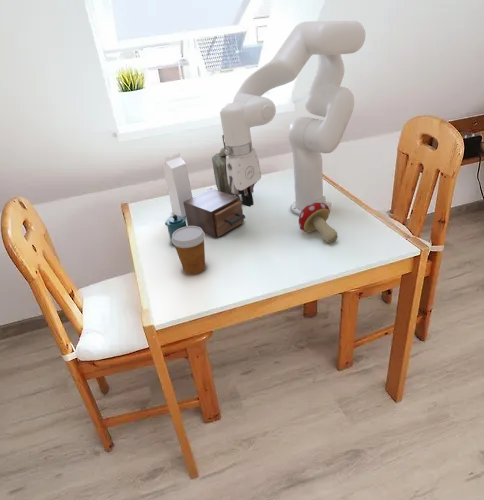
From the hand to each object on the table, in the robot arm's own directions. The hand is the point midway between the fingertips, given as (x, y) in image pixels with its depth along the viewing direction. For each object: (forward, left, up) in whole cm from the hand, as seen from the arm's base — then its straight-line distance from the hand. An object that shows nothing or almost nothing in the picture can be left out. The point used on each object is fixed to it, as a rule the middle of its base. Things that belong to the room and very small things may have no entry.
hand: (248, 204), depth 136 cm
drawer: (+13, +1, -11) cm, 17 cm away
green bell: (+26, -16, -12) cm, 32 cm away
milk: (+34, +1, -12) cm, 36 cm away
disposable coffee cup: (+2, +23, -12) cm, 26 cm away
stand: (+17, +1, -12) cm, 20 cm away
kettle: (+18, +15, -12) cm, 26 cm away
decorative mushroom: (-17, -12, -12) cm, 24 cm away
